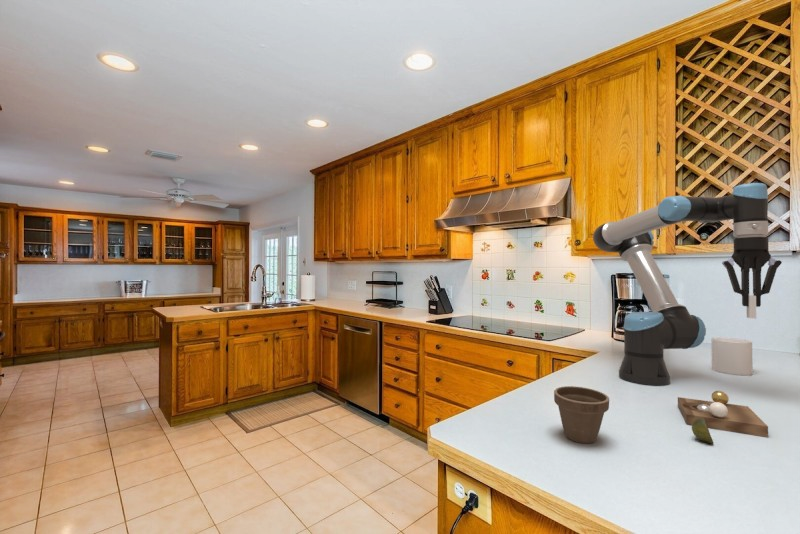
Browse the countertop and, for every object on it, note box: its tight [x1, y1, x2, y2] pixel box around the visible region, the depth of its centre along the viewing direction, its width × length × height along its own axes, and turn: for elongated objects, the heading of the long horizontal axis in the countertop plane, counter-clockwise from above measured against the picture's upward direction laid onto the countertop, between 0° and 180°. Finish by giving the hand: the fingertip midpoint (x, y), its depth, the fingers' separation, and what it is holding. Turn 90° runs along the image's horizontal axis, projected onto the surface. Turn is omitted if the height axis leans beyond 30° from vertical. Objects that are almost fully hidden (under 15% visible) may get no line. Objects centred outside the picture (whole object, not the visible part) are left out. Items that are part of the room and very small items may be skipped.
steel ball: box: [696, 404, 710, 411], centre depth 99 cm, size 4×4×4 cm
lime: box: [691, 418, 714, 444], centre depth 85 cm, size 4×5×5 cm
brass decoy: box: [711, 390, 730, 404], centre depth 102 cm, size 4×4×4 cm
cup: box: [711, 336, 754, 377], centre depth 145 cm, size 12×12×12 cm
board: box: [677, 396, 769, 438], centre depth 97 cm, size 15×15×2 cm
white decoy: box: [709, 401, 728, 417], centre depth 93 cm, size 4×4×4 cm
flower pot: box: [553, 385, 610, 444], centre depth 87 cm, size 12×11×10 cm
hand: (751, 317), depth 111 cm, fingers closed
